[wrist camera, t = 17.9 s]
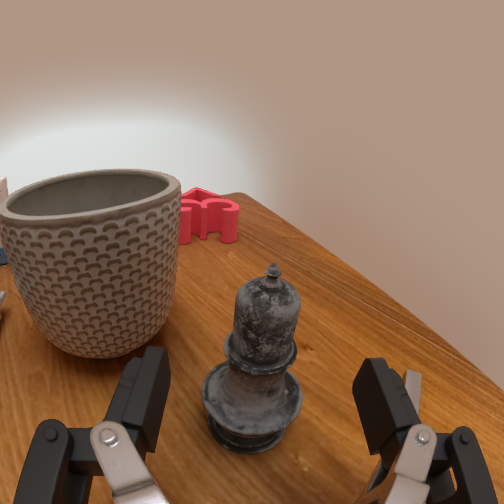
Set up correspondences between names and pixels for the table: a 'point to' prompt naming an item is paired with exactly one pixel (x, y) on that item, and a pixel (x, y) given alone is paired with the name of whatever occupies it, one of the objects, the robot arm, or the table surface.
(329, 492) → the table surface
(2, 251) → the ink box
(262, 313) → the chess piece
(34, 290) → the planter
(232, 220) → the letters
